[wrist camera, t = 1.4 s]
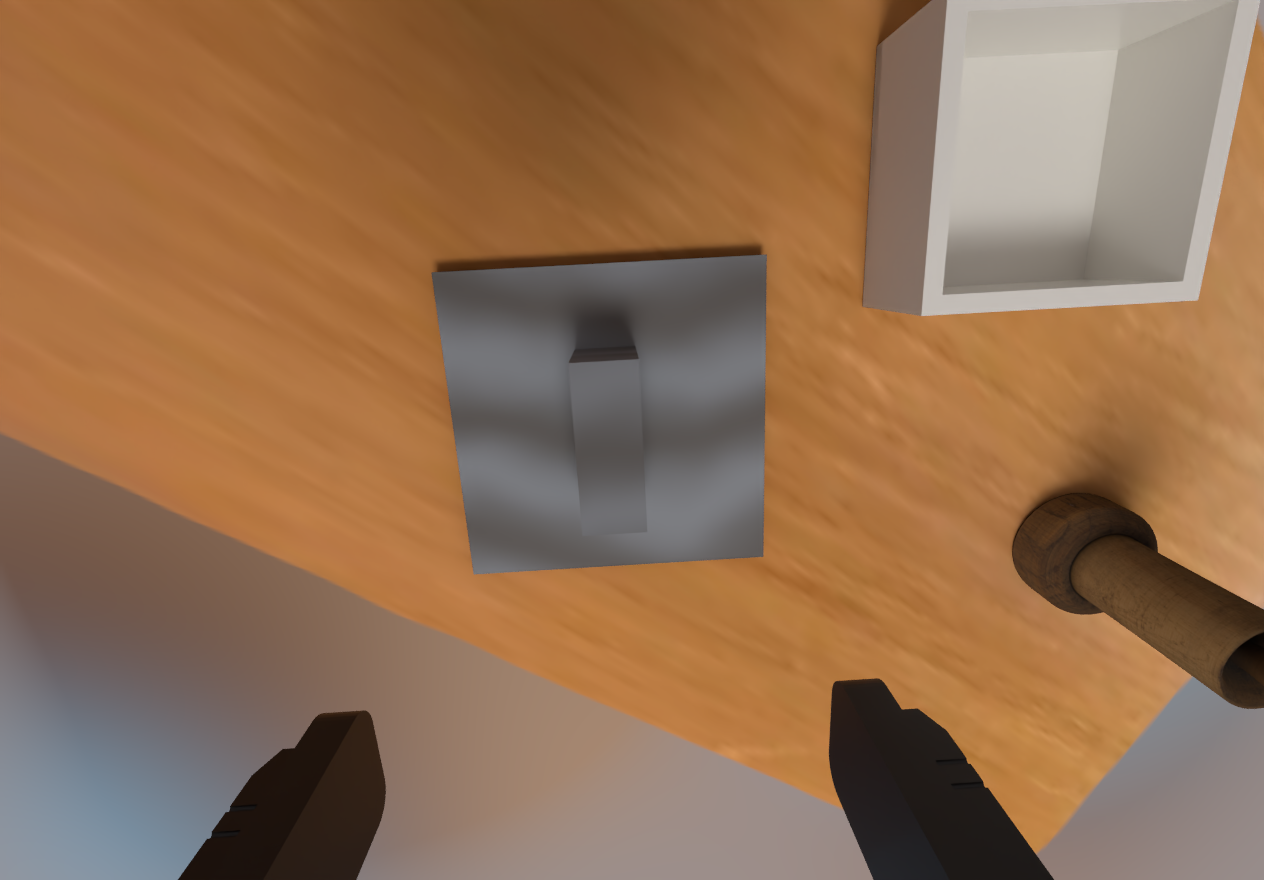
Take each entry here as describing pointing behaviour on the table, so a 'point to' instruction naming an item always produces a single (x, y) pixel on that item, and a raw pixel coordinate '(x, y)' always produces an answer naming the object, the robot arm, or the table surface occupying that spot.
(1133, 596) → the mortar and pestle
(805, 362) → the table surface
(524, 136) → the table surface
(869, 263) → the white storage bin
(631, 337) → the lid
